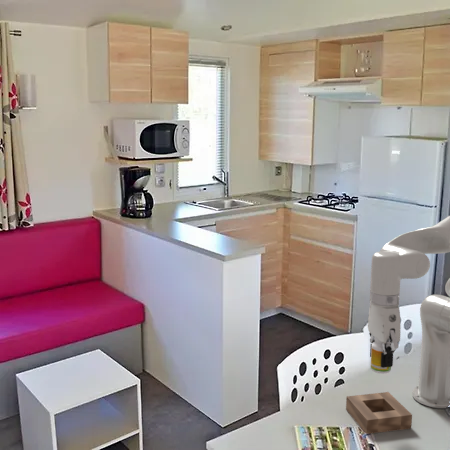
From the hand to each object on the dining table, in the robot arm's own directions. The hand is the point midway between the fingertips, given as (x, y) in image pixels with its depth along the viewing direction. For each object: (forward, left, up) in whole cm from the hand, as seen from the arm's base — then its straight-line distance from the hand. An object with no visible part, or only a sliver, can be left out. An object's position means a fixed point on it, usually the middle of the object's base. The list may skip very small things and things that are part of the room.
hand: (381, 361), depth 151 cm
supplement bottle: (0, 0, -3) cm, 3 cm away
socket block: (0, 0, -17) cm, 17 cm away
